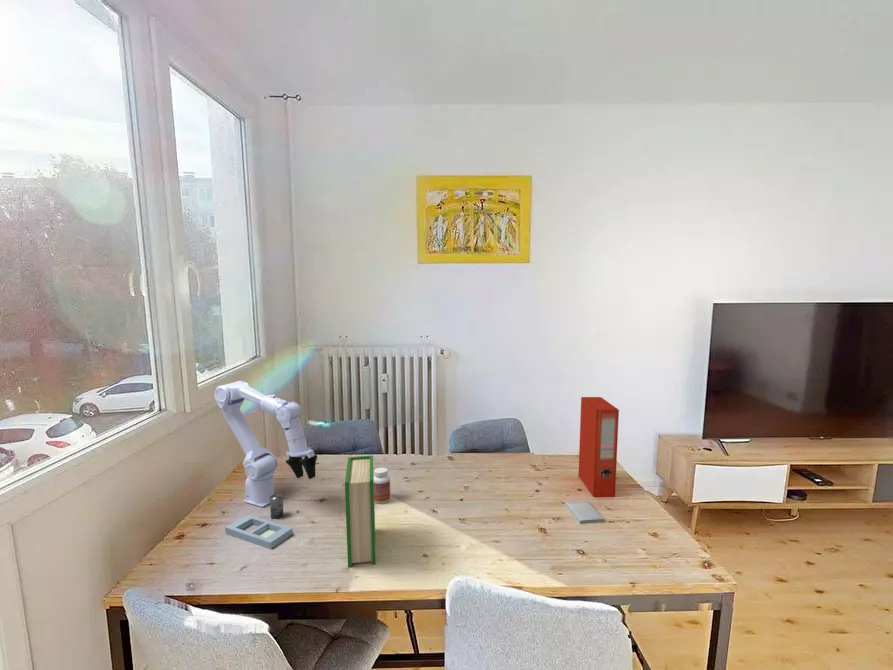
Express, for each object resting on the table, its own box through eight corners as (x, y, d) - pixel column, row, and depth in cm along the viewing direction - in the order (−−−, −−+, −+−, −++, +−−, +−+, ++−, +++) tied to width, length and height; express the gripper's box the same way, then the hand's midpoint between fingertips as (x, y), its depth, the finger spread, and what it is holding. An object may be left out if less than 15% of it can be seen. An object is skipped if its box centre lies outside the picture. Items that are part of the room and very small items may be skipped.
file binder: (598, 476, 175) (601, 396, 171) (615, 497, 157) (618, 409, 154) (578, 476, 174) (580, 397, 171) (593, 497, 157) (595, 409, 154)
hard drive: (604, 518, 141) (587, 499, 153) (579, 520, 140) (564, 501, 152) (604, 523, 141) (587, 504, 153) (579, 525, 140) (564, 506, 152)
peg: (268, 518, 145) (266, 497, 145) (277, 512, 149) (276, 492, 148) (277, 520, 144) (275, 500, 143) (286, 515, 147) (285, 494, 146)
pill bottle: (393, 501, 156) (392, 471, 155) (377, 506, 153) (376, 475, 151) (385, 494, 161) (385, 465, 160) (370, 498, 158) (369, 469, 156)
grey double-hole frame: (225, 533, 136) (225, 527, 136) (248, 520, 144) (248, 514, 144) (270, 549, 128) (270, 542, 128) (292, 534, 136) (292, 528, 135)
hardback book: (375, 564, 121) (373, 480, 118) (347, 567, 120) (344, 482, 117) (375, 529, 138) (372, 455, 135) (350, 531, 137) (348, 457, 134)
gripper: (317, 433, 147) (328, 473, 148) (295, 435, 157) (305, 472, 157) (299, 441, 142) (309, 482, 142) (277, 442, 151) (287, 480, 152)
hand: (306, 477), depth 149 cm, fingers open, 7 cm apart
